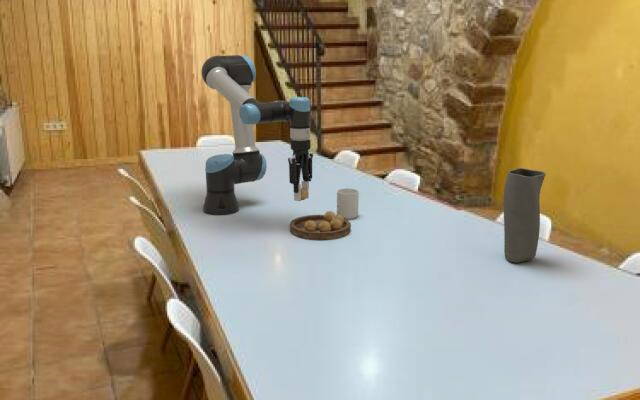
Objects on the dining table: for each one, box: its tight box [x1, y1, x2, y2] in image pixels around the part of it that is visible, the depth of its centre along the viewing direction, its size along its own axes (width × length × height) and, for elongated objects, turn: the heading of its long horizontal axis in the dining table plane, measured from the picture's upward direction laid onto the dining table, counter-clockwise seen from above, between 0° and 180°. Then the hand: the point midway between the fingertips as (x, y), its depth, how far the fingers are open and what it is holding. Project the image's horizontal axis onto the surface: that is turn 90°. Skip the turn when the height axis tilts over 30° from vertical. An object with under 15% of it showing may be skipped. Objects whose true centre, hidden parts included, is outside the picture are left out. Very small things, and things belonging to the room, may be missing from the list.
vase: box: [502, 167, 547, 264], centre depth 193 cm, size 12×12×30 cm
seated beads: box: [304, 210, 344, 232], centre depth 223 cm, size 12×19×5 cm, turn 148°
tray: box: [289, 214, 352, 241], centre depth 225 cm, size 23×23×3 cm
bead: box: [301, 187, 308, 201], centre depth 225 cm, size 5×5×5 cm
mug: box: [336, 187, 360, 221], centre depth 242 cm, size 12×9×11 cm
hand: (301, 199), depth 226 cm, fingers closed on bead, 4 cm apart
